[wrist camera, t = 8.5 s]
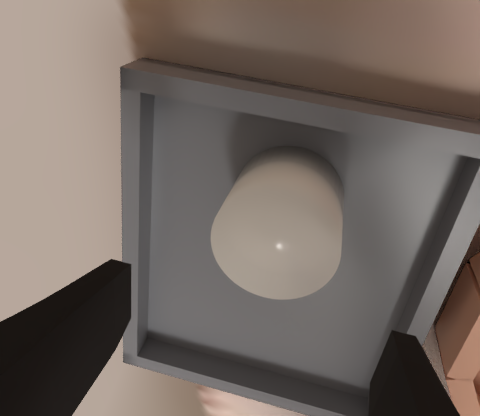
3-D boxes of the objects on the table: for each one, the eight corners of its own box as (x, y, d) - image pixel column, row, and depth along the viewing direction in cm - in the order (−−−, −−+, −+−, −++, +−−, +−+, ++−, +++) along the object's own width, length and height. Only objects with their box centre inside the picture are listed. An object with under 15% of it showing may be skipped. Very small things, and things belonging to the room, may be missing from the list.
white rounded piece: (330, 252, 20) (324, 312, 16) (230, 229, 20) (205, 282, 17) (356, 158, 17) (356, 205, 14) (243, 135, 18) (217, 174, 15)
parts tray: (378, 402, 24) (379, 435, 22) (138, 336, 26) (123, 362, 24) (500, 123, 16) (518, 141, 14) (142, 57, 18) (120, 66, 16)
